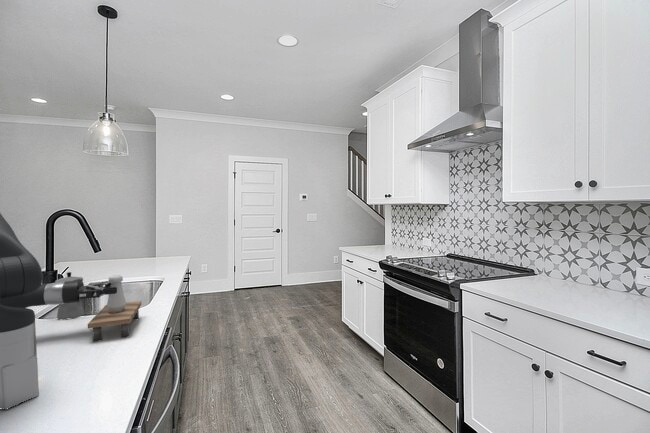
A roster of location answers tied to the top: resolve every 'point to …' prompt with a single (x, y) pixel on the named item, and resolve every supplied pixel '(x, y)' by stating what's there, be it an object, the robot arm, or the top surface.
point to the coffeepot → (70, 308)
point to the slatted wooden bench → (115, 319)
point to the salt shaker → (116, 295)
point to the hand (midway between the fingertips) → (119, 287)
